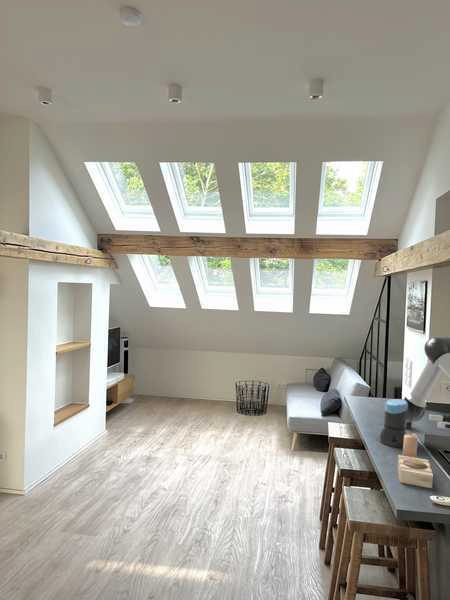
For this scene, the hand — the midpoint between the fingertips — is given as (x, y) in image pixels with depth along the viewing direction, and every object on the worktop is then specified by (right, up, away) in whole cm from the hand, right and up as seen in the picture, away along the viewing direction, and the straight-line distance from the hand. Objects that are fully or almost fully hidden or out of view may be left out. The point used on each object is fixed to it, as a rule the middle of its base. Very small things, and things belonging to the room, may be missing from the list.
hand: (433, 420), depth 230 cm
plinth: (-18, -20, -20) cm, 33 cm away
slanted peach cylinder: (-11, -20, +2) cm, 23 cm away
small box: (+9, -20, +63) cm, 67 cm away
